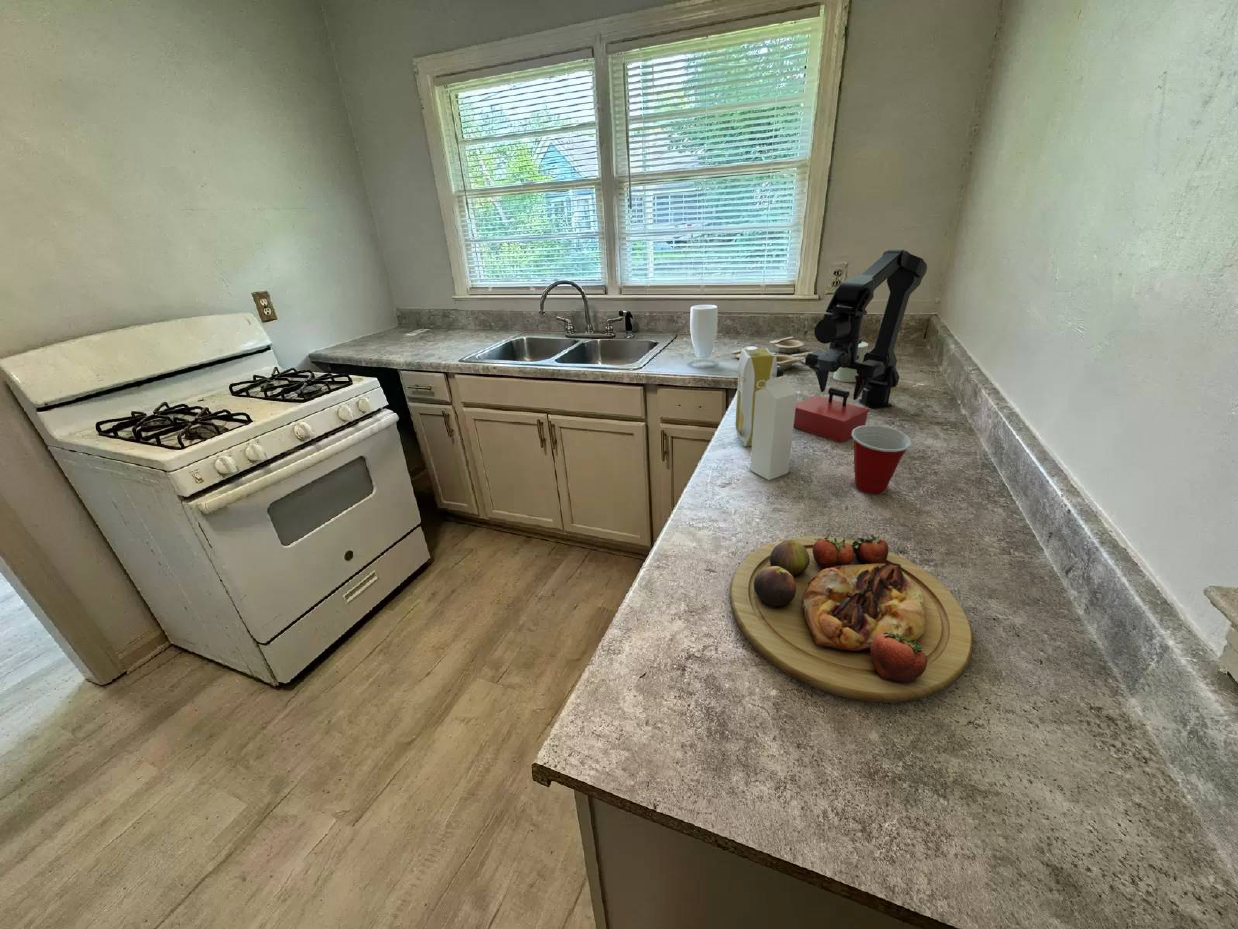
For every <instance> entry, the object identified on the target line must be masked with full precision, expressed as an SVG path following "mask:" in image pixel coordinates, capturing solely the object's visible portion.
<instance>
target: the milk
mask: <svg viewBox="0 0 1238 929" xmlns="http://www.w3.org/2000/svg"><path fill="white" fill-rule="evenodd" d="M788 379H789V375H788V374H784V376H781V377H777V378H773V379H770V380H767V382H766V388H763V389H761V390H758V391H756V393H755V408H754V422H753V437H752V446H751V453H750V465H749V467H750V468H749V470H750V471H751V472H753V473H755V474H756V475H758V476H760V477H762V478H764V479H766V480H767V481H772V480H774V479H777V478H780V477H781V476H784V475H788V474H789V472H790V462H791V453H792V445H793V444H792V443H793V434H794V428H795V427H794V418H795V409H796V403H797V398H798V392H797V391H796V389H794V387H793V386H792V385H791V384H790V383H789V380H788Z"/></svg>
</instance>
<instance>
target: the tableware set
mask: <svg viewBox="0 0 1238 929" xmlns="http://www.w3.org/2000/svg"><path fill="white" fill-rule="evenodd" d="M769 344H772V345H774V347H776V348H778V350H779V352H781V353H783V354H778V353H777V352H771V353H772V354H773V355H775V356H776V359H777V366H779V367H782V368H783V369H784V370H788V369H790V368H791V367H792V365H795V364H797V363H798V362H801V363H803V364H805V357H806V356H807V355H808V354H809V353H812V352H813V351H808V352H802V353H797V352H798V350H799V349H800V348H803V347H804V346H805V343H804V341H801V340H797V339H795V340H794V336H788V337H785V338H780V339H777V340H770V341H769ZM749 347H752V346H751V345H747V346H745V347H744V348H741V349H738V350H735V351H731V354H732V355H734V357H735V358H737V359H740V355H741V350H745V349H747V348H749ZM784 353H785V354H784ZM794 353H795V354H794ZM787 354H790V355H787Z"/></svg>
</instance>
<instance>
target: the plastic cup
mask: <svg viewBox="0 0 1238 929" xmlns="http://www.w3.org/2000/svg"><path fill="white" fill-rule="evenodd" d="M851 438H852V440H853V472H854V484H855V485H854V486H855V487H856V489H857V490H859V491H860V492H862V493H865V494H869V495H879V494H883V493H884V492H886V490H887V488H888V487H889V484H890V481H891V479H892V478H893V476H894V474H895V471H896V469H897V467H898V465H899V463H900V460H902V459H901V458H902V457H903V456H904V454H905V453H906V451H907V450H908V449H909V448H911V446H912V443H913V440H912V439H911V438H910V437H909V435H908V434H907V433H904V432H903V431H901V430H899V429H896V428H893V427H890V426H885V425H879V424H865V425H863V426H858V427H856V428H855V429H853V431H852V437H851Z"/></svg>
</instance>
